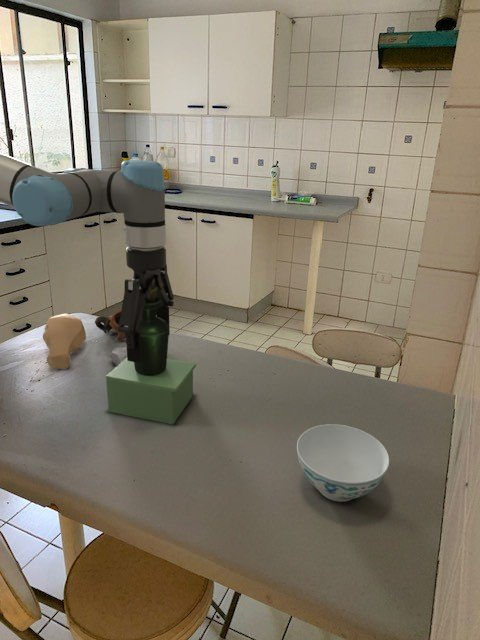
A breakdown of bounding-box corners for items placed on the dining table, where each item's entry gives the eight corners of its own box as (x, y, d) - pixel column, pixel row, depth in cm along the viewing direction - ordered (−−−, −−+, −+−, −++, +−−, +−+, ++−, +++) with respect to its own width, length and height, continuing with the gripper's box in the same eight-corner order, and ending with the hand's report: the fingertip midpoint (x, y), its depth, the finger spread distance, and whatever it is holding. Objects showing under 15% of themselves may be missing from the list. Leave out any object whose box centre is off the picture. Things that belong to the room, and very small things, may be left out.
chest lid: (196, 366, 102) (196, 362, 101) (175, 392, 91) (175, 388, 91) (132, 355, 105) (132, 352, 105) (105, 379, 95) (105, 376, 95)
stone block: (168, 371, 119) (152, 349, 125) (169, 356, 116) (153, 335, 123) (123, 384, 113) (109, 360, 120) (123, 368, 110) (109, 345, 117)
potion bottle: (161, 381, 94) (158, 297, 87) (124, 374, 95) (118, 292, 88) (175, 363, 101) (174, 284, 94) (141, 357, 103) (137, 280, 96)
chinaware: (293, 455, 87) (296, 420, 84) (374, 462, 86) (380, 428, 83) (293, 516, 73) (297, 477, 70) (390, 526, 72) (398, 487, 69)
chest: (192, 396, 105) (192, 365, 102) (172, 424, 94) (172, 391, 92) (134, 385, 108) (132, 355, 105) (108, 412, 98) (106, 379, 95)
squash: (86, 336, 133) (88, 309, 129) (82, 378, 116) (85, 348, 112) (45, 333, 129) (47, 305, 125) (35, 375, 113) (37, 344, 109)
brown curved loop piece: (134, 327, 141) (140, 309, 135) (133, 352, 135) (140, 334, 129) (93, 321, 136) (98, 302, 131) (90, 346, 130) (96, 327, 125)
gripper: (155, 232, 100) (158, 322, 108) (92, 259, 78) (102, 371, 86) (188, 235, 98) (188, 327, 106) (133, 264, 76) (138, 377, 84)
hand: (149, 347), depth 96 cm, fingers open, 13 cm apart
